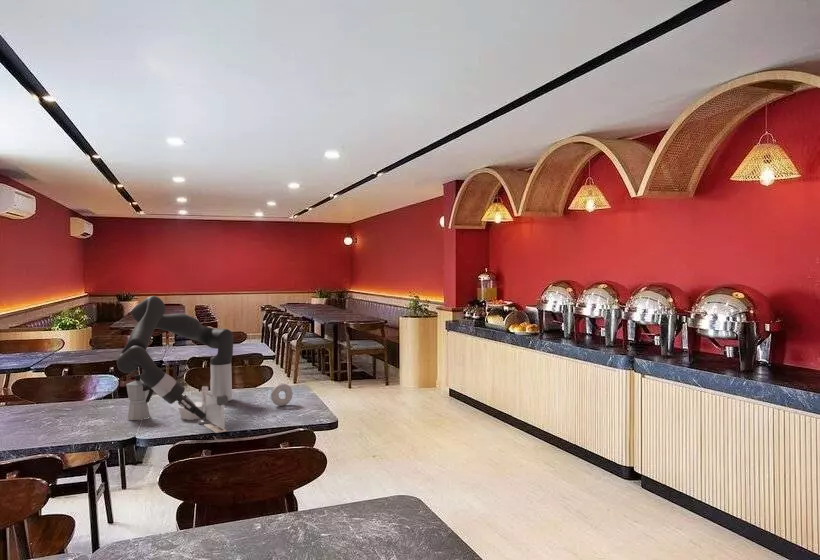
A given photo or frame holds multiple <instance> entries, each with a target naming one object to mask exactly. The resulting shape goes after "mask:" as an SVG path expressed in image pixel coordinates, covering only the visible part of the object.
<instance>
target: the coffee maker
mask: <svg viewBox="0 0 820 560" xmlns="http://www.w3.org/2000/svg"><path fill="white" fill-rule="evenodd" d="M140 375H141V374H134V381H131V382H129V383H126V384H125V385H126V391H127V396H128V400H129V407H128V412H127V413H128V414H127V420H128V419H129V420H128V421H130V420H138V421H142V420H141V419H144V418H148V417H149V416H150V409H149V404H148V403H149V402H150V401H151V398H152V397H153V396H152V395H153V393H154V392H155V391H154V390H153V389H152V388H150V387H149V386H148V385H147V384H145V383H144V382H143V381H142V380H141V379H140ZM149 418H150V417H149ZM149 418H148V419H149ZM144 420H145V419H144Z"/></svg>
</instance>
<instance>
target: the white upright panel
mask: <svg viewBox="0 0 820 560" xmlns="http://www.w3.org/2000/svg"><path fill="white" fill-rule="evenodd" d="M201 402H202V412H204V413H205V414H206V416H205V417H204V418H203V419H202V420H209V421H210V422H212V423H214V424H215V425H217V426H219V427H220V428H224V429H226V428H225V425H226V422H225V421H226V420H225V419H226V418H225V406H226V405H228V403H229V401H228V396H226V395H223V396H217V397H215V396H213V395H211V394H210V393H209V385H202V387H201Z"/></svg>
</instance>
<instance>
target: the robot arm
mask: <svg viewBox="0 0 820 560" xmlns="http://www.w3.org/2000/svg"><path fill="white" fill-rule="evenodd" d="M165 305H166V304H165V303H164V301H163V300H162V299H161V298H159V297H158V296H156V295H151V296H148V297H146V298H144V300H141V301H140V302H139V303H137V304H136V305H135V306H134V307H133V308H132V309H131V316H132V318H133V319H134V320H135V322H137V324H136V325H135V326H134V328H133V329H132V330H131V332H130V334H129V337H128V340H127V342H126V344H125V346H124V348H122V350H121V352H120V353H119V355H117V358H116V366H117V369H118V370H119V371H120V372H121V373H123V374H130V373H132V372H134V371H135V370H137V369H138V368H140V367H141V368H142V369H143V370H142V372H141V374H139V375H140V380H142V381H143V382H144V383H145V384H147V385H148V386H149V387H150V388H152V389H153V390H154V391H153V392H155V394H157V395H158V396H159V397H161V398H162V399H163V400H164V401H166V402H167V403H168V404H170V405H171V404H175V403H176V402H177V404H178V406H179V405H180V406H181V407H183V408H185V409H186V410H187V411H190V412H191V413H192V414H195V415H197V416H198V417H199V418H200V419H203V418H204V417H205V416H206V414H205V413H204V412H202V411H201V410H200V409H199V408H198V407H197V406H196V405H195V404H194V402H195V401H193V400H192V399H190V397H189V396H188V395H187V394H184V392H185V390H186V387H185V386H183V385H182V384H181V383H180V382H178V381H177V380H176V379H175V378H174V377H172V376H171V375H169V374H168V373H167V372H166V371H164V370H162V369H161V368H160V367H158V366H157V364H156V363H155V362H154V360H153V358H152V357H151V355H149V353H148V352H147V348H148V347H149V344H150V341H151V338H152V335H153V333H154V331H155V329H157V330H158V329H159V330H162V331H167V332H168V333H169V332H170V333H173V334H175V335H177V336H180V337H183V338H186V339H190V340H193V341H196V342H199V343H201V344H202V345H205V346H206V347H209V348H211V349H214V350H215V349H216V350H217V354H216V355H214V356H212V357H210V362H209V364H210V380H209V387H210V389H209V391H210V392H209V394H211V395H213V396H215V397H217V396H223V395H226V396H228V402H230V401H232V400H233V387H232V386H233V385H232V384H233V383H232V382H233V380H232V379H233V378H232V375H233V374H232V360H233V359H232V358H233V356H234V336H233V332H232V331H231V330H230V329H228V328H215V327H207V326H205V325H203V324H202V323H201V321H200V320H198V319H197V318H195V317H193V316H190V315H188V314H186V313H170V314H165V312H166V306H165ZM183 394H184V395H183ZM200 419H199V420H200Z"/></svg>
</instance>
